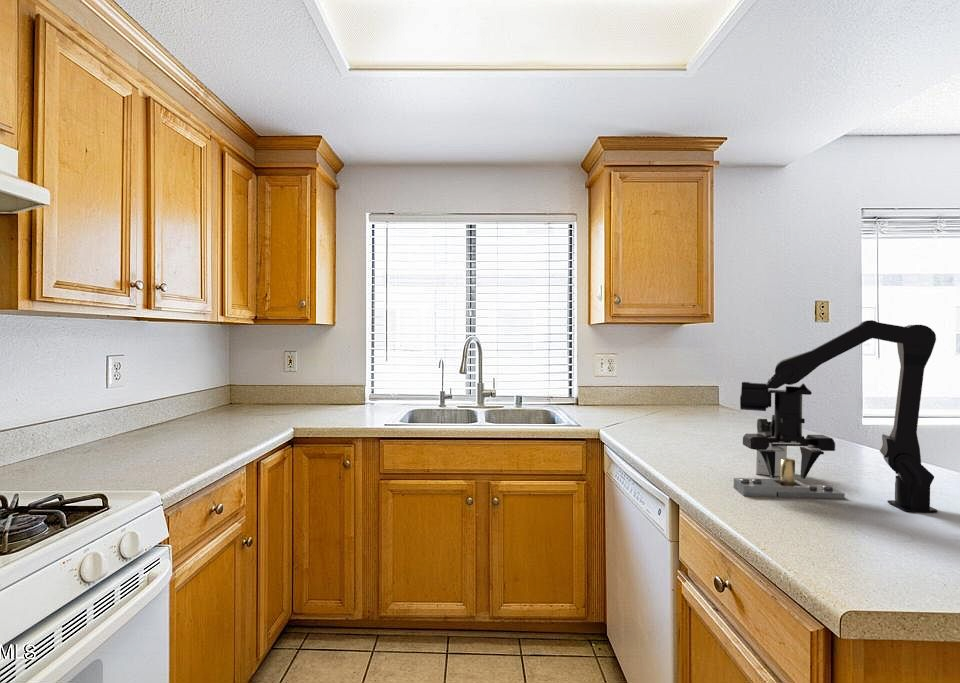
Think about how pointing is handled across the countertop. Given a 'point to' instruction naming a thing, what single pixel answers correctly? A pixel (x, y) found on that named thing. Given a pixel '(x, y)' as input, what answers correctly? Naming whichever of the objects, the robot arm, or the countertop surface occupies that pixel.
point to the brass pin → (787, 472)
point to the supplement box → (779, 453)
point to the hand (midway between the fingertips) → (787, 478)
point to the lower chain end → (815, 493)
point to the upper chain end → (766, 487)
